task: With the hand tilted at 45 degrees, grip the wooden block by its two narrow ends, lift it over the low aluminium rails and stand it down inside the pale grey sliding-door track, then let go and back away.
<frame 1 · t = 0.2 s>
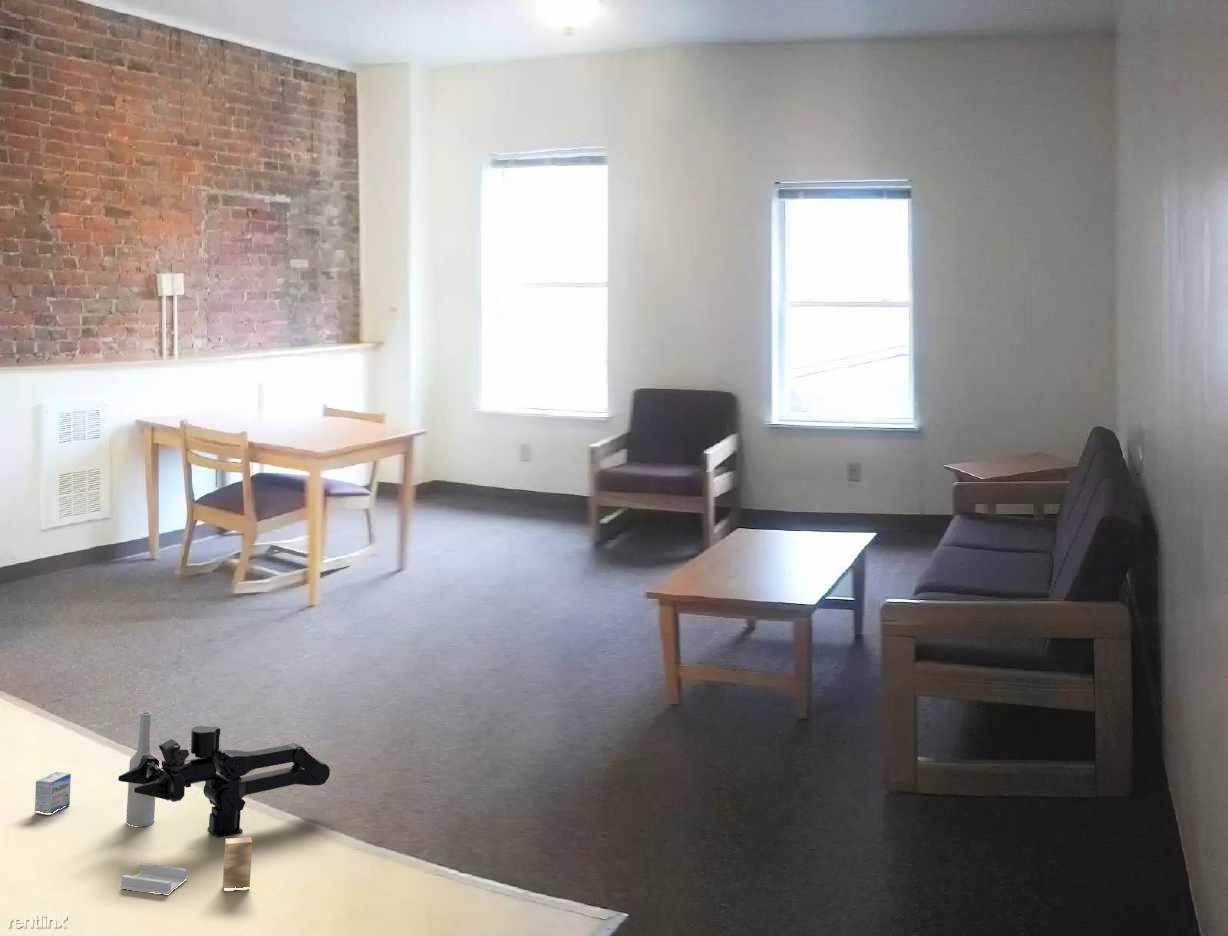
hand: (126, 784, 277), 17 cm above the table, tool horizontal, fingers open, 9 cm apart
wooden block: (236, 888, 264), on the table
door track: (154, 885, 263), on the table
medicine box: (52, 810, 301), on the table
bottle: (140, 823, 298), on the table
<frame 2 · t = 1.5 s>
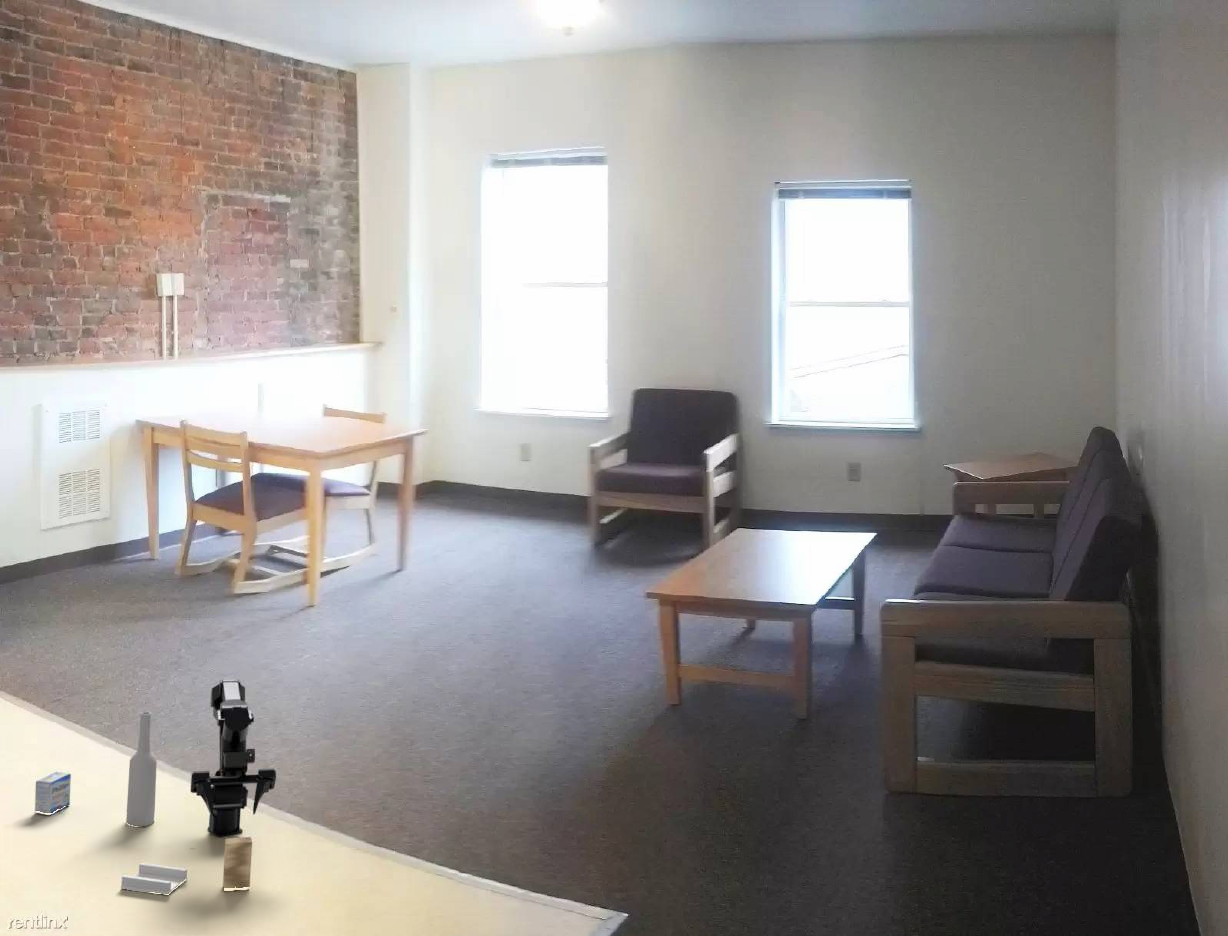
hand: (233, 814, 271), 14 cm above the table, tool tilted 45°, fingers open, 9 cm apart
nothing on the table moved.
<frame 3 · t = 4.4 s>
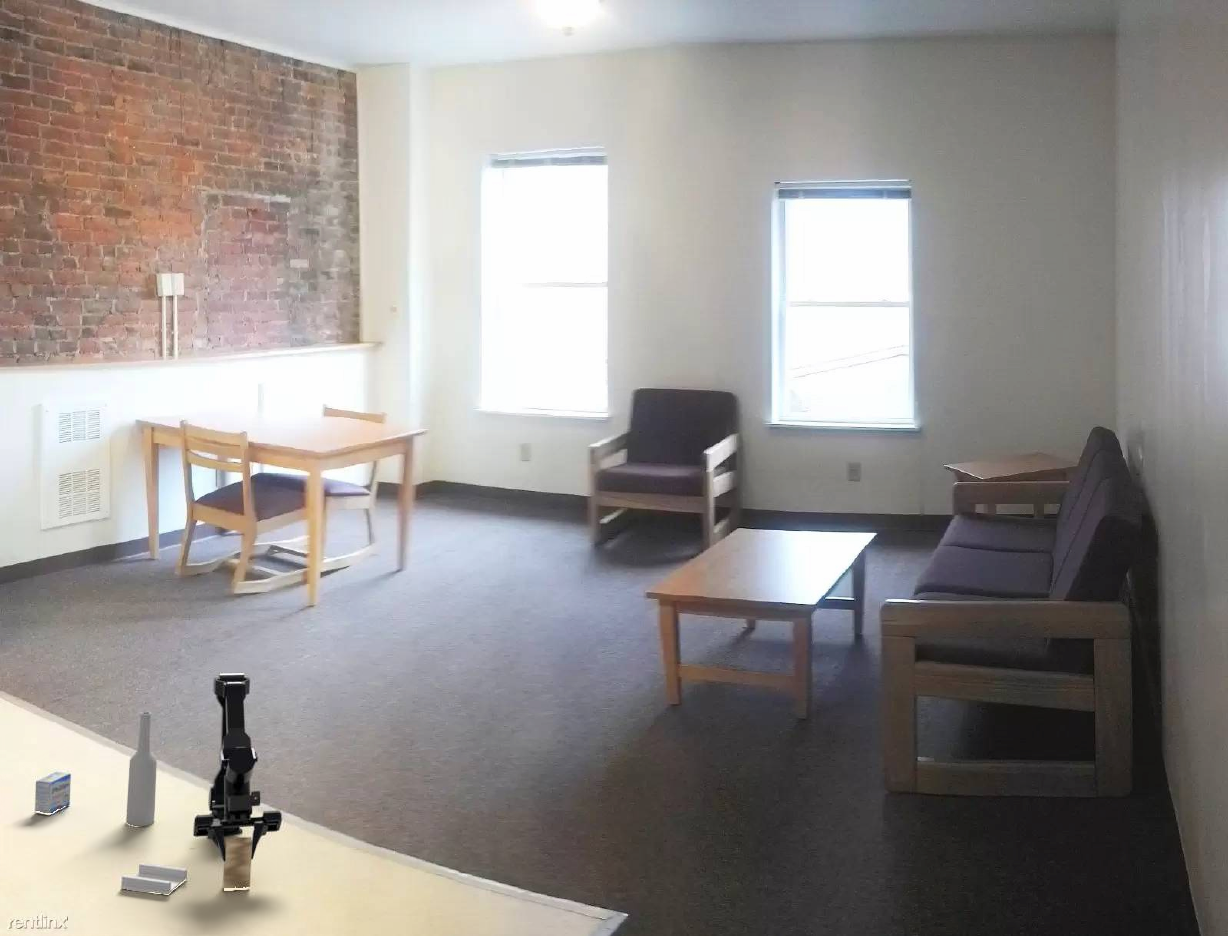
hand: (238, 859, 263), 7 cm above the table, tool tilted 45°, fingers closed on wooden block, 5 cm apart
wooden block: (236, 888, 264), on the table, touching gripper
everything else where it was.
when the fingers open (9 cm above the table, at t = 8.6 s): wooden block stays where it is, resting on door track.
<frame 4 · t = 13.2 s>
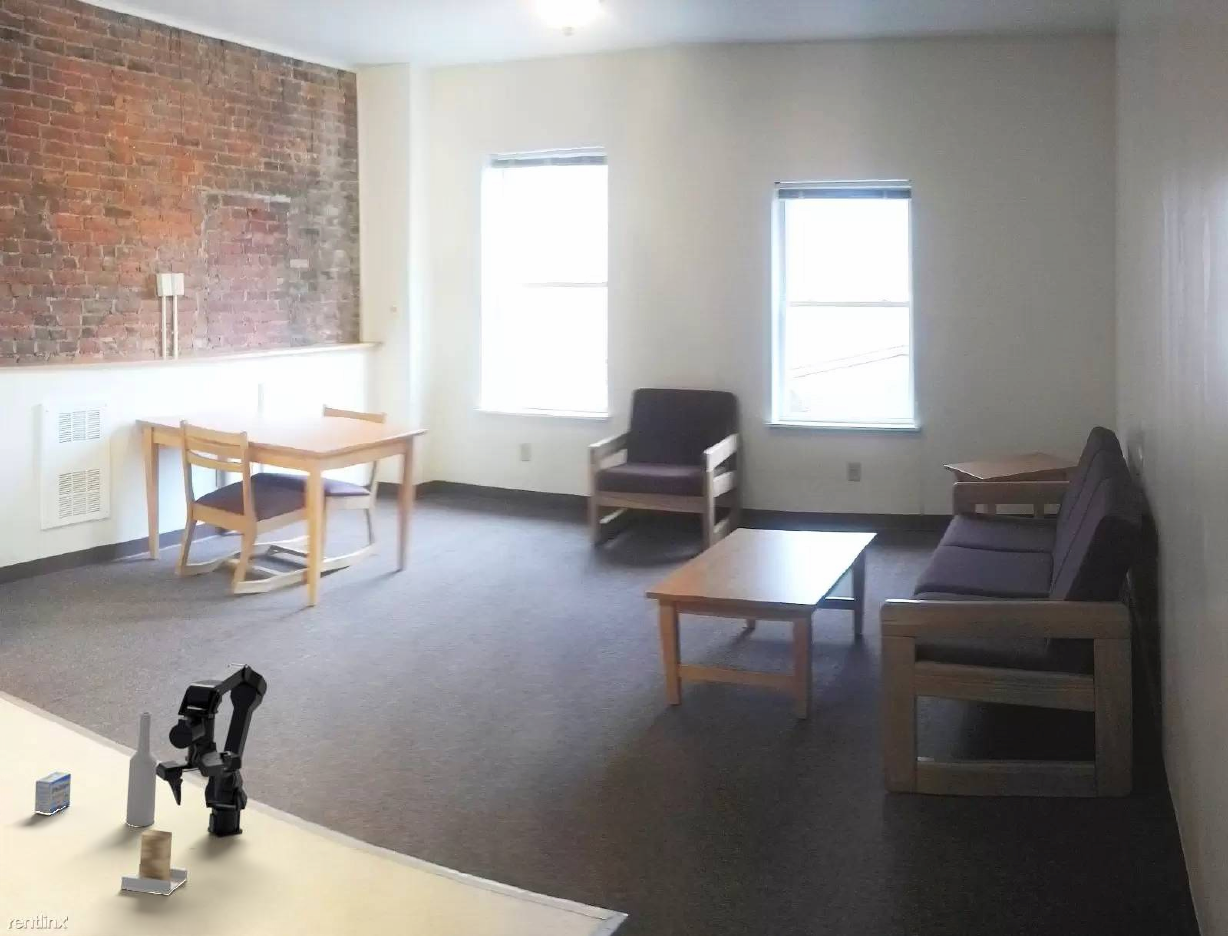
hand: (197, 801, 280), 13 cm above the table, tool pointing down, fingers open, 9 cm apart
wooden block: (154, 881, 263), point 1 cm above the table, touching door track
everything else where it was.
at the end: wooden block inside the target area on the door track (0.0 cm from its centre), point 0.8 cm above the door track's base; wooden block tilted 0°; the gripper is holding nothing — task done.
